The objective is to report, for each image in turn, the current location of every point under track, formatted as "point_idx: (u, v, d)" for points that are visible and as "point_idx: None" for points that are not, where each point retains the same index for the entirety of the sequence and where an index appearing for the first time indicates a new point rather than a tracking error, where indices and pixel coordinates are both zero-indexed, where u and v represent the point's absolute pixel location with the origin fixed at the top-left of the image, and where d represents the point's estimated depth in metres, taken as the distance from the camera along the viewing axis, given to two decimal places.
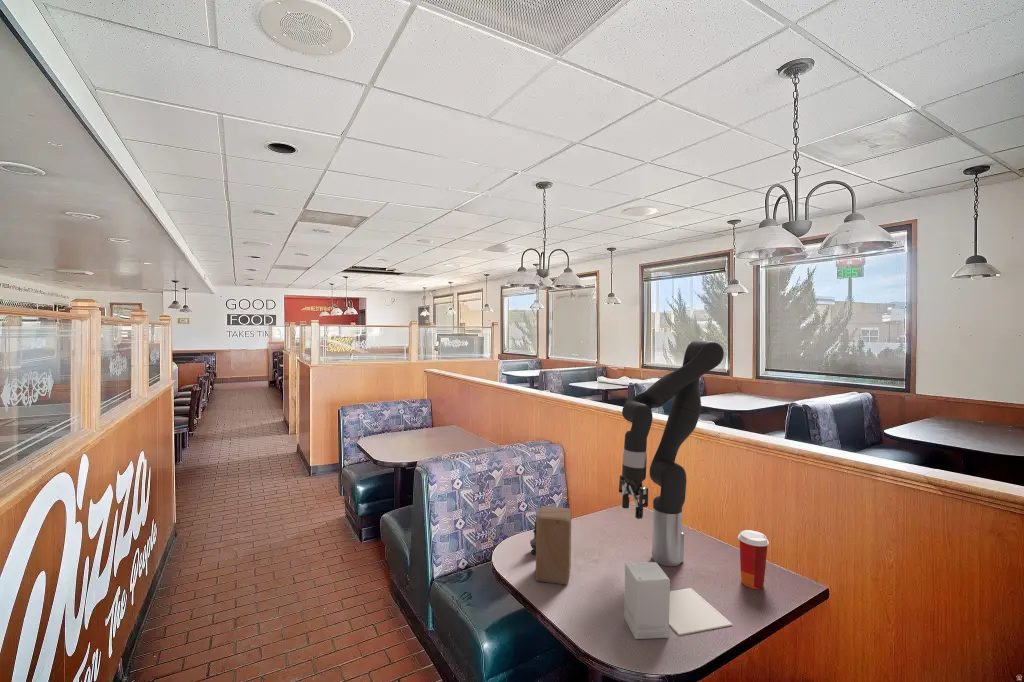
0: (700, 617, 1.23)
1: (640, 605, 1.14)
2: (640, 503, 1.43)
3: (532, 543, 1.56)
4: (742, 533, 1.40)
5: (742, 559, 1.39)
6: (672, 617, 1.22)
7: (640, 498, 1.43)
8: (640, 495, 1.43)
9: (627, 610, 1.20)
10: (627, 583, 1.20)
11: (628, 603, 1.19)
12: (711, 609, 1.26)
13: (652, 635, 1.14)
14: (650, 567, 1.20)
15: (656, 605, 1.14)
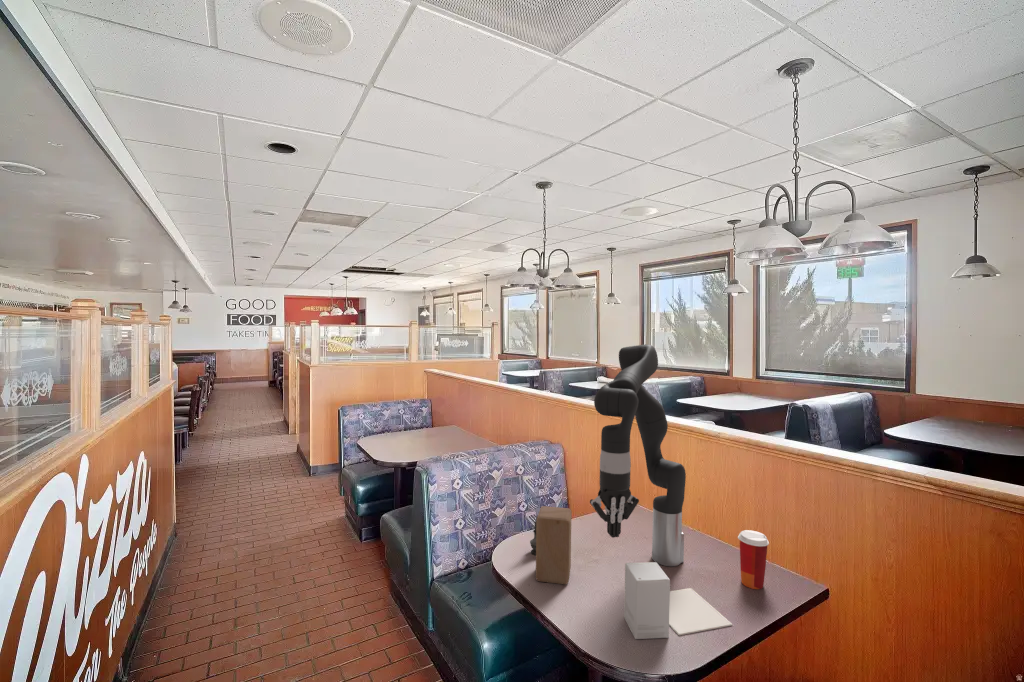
0: (700, 617, 1.23)
1: (640, 605, 1.14)
2: (628, 515, 1.15)
3: (532, 543, 1.56)
4: (742, 533, 1.40)
5: (742, 559, 1.39)
6: (672, 617, 1.22)
7: (631, 510, 1.15)
8: (633, 507, 1.15)
9: (627, 610, 1.20)
10: (627, 583, 1.20)
11: (628, 603, 1.19)
12: (711, 609, 1.26)
13: (652, 635, 1.14)
14: (650, 567, 1.20)
15: (656, 605, 1.14)
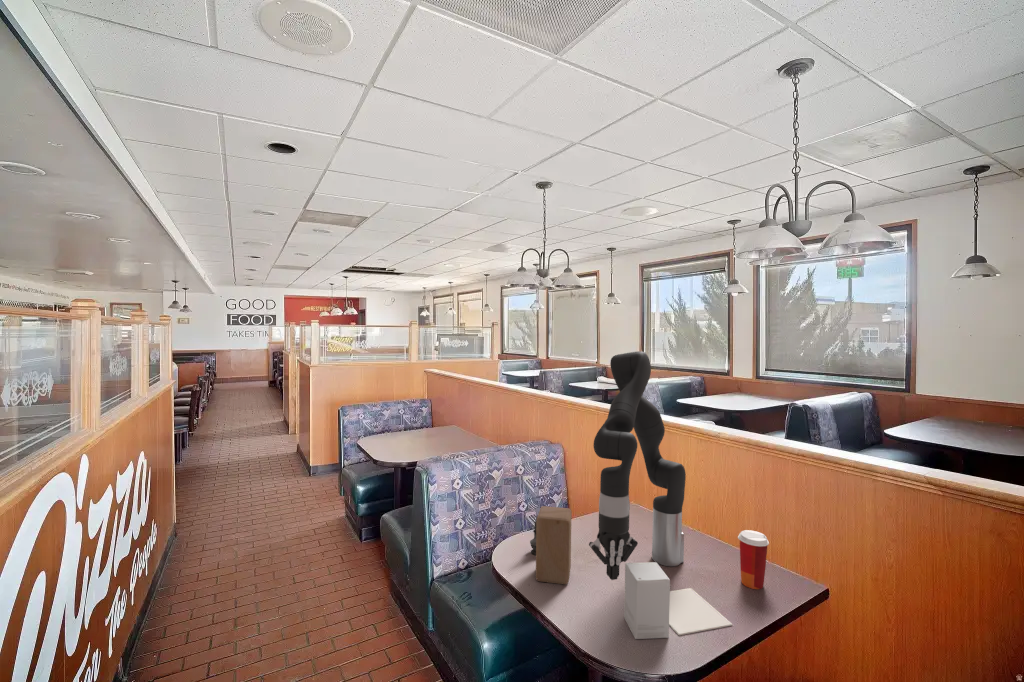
0: (700, 617, 1.23)
1: (640, 605, 1.14)
2: (626, 557, 1.16)
3: (532, 543, 1.56)
4: (742, 533, 1.40)
5: (742, 559, 1.39)
6: (672, 617, 1.22)
7: (630, 552, 1.16)
8: (632, 549, 1.16)
9: (627, 610, 1.20)
10: (627, 583, 1.20)
11: (628, 603, 1.19)
12: (711, 609, 1.26)
13: (652, 635, 1.14)
14: (650, 567, 1.20)
15: (656, 605, 1.14)
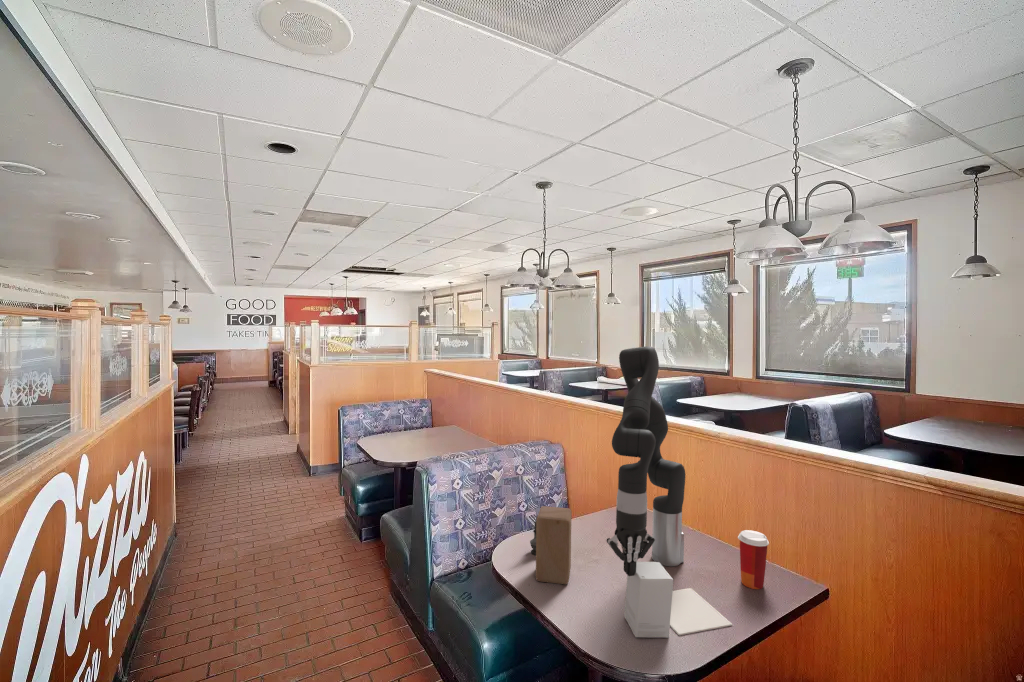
0: (700, 617, 1.23)
1: (643, 603, 1.14)
2: (643, 554, 1.17)
3: (532, 543, 1.56)
4: (742, 533, 1.40)
5: (742, 559, 1.39)
6: (672, 617, 1.22)
7: (647, 549, 1.17)
8: (649, 546, 1.17)
9: (628, 608, 1.20)
10: (630, 581, 1.20)
11: (630, 601, 1.19)
12: (711, 609, 1.26)
13: (653, 634, 1.14)
14: (653, 566, 1.20)
15: (658, 605, 1.14)
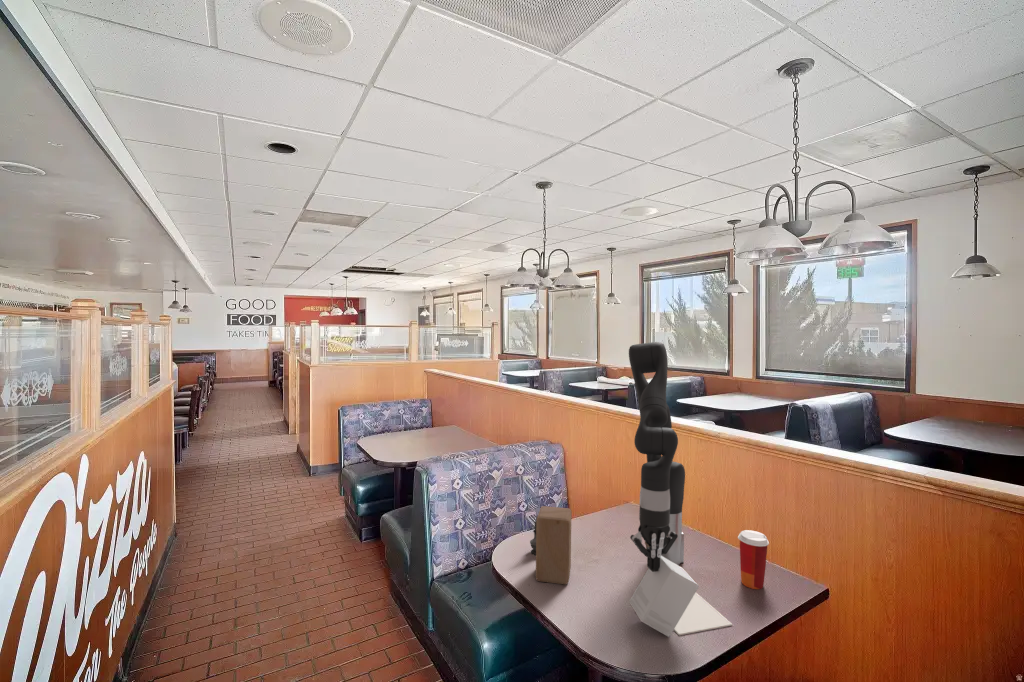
0: (700, 617, 1.23)
1: (663, 593, 1.14)
2: (667, 550, 1.19)
3: (532, 543, 1.56)
4: (742, 533, 1.40)
5: (742, 559, 1.39)
6: None
7: (670, 545, 1.19)
8: (672, 542, 1.19)
9: (639, 595, 1.20)
10: None
11: (645, 589, 1.19)
12: (711, 609, 1.26)
13: (657, 627, 1.14)
14: (680, 568, 1.21)
15: (675, 602, 1.14)
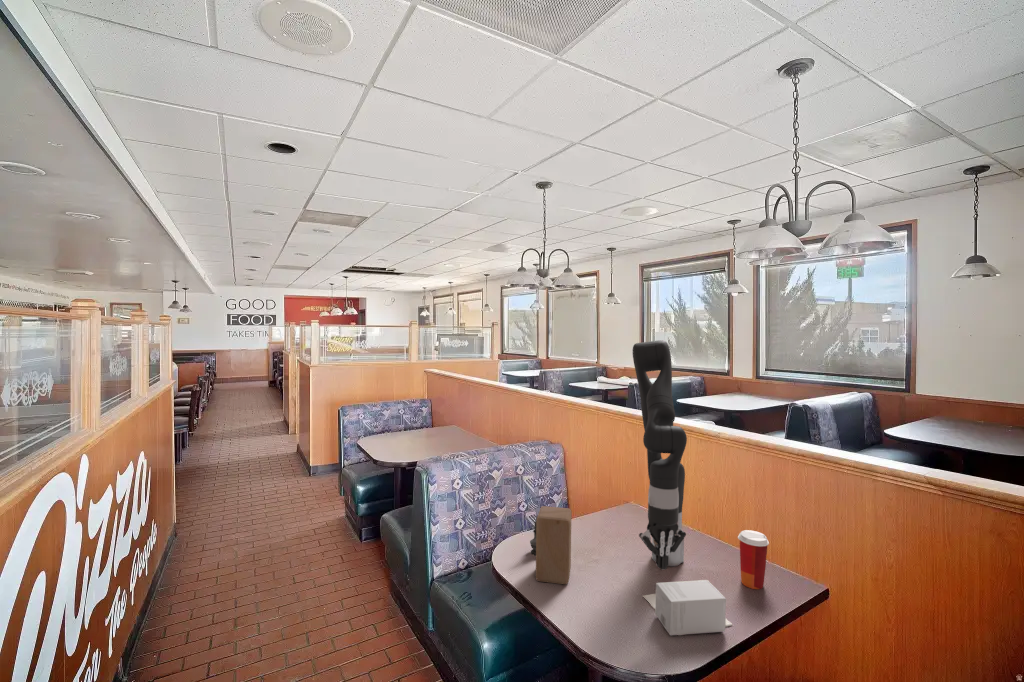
0: None
1: (703, 604, 1.15)
2: (675, 548, 1.19)
3: (532, 543, 1.56)
4: (742, 533, 1.40)
5: (742, 559, 1.39)
6: None
7: (678, 543, 1.19)
8: (680, 540, 1.19)
9: (673, 587, 1.21)
10: (699, 585, 1.22)
11: (684, 588, 1.20)
12: None
13: (673, 619, 1.15)
14: None
15: (702, 620, 1.15)
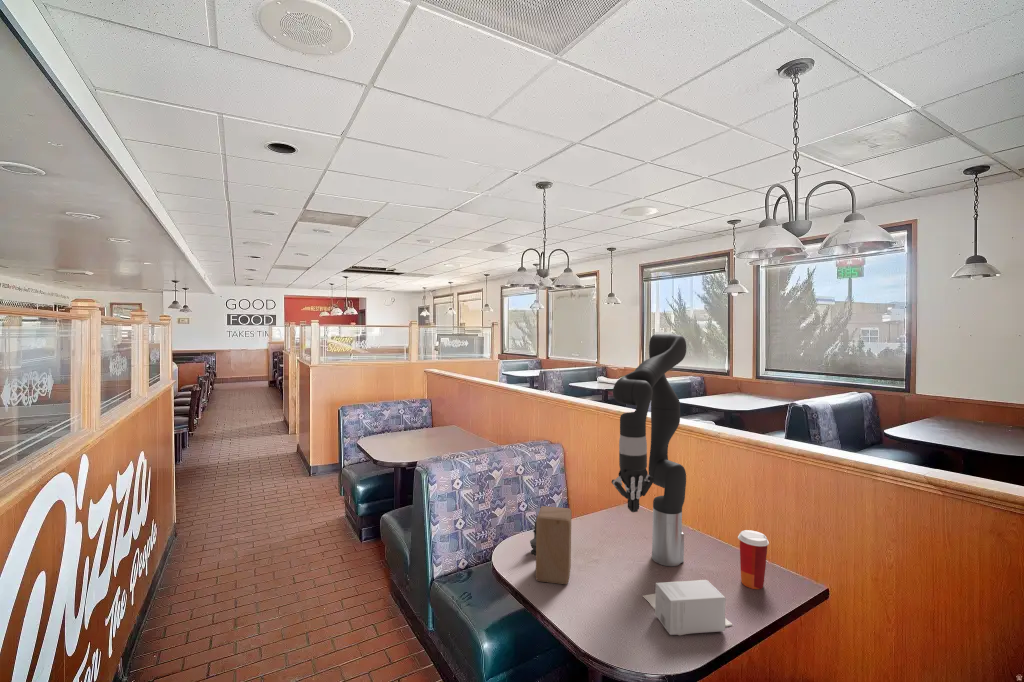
0: None
1: (703, 603, 1.16)
2: (645, 492, 1.29)
3: (532, 543, 1.56)
4: (742, 533, 1.40)
5: (742, 559, 1.39)
6: None
7: (648, 487, 1.29)
8: (649, 484, 1.29)
9: (672, 586, 1.21)
10: (698, 585, 1.22)
11: (683, 588, 1.20)
12: None
13: (673, 618, 1.15)
14: None
15: (702, 619, 1.16)
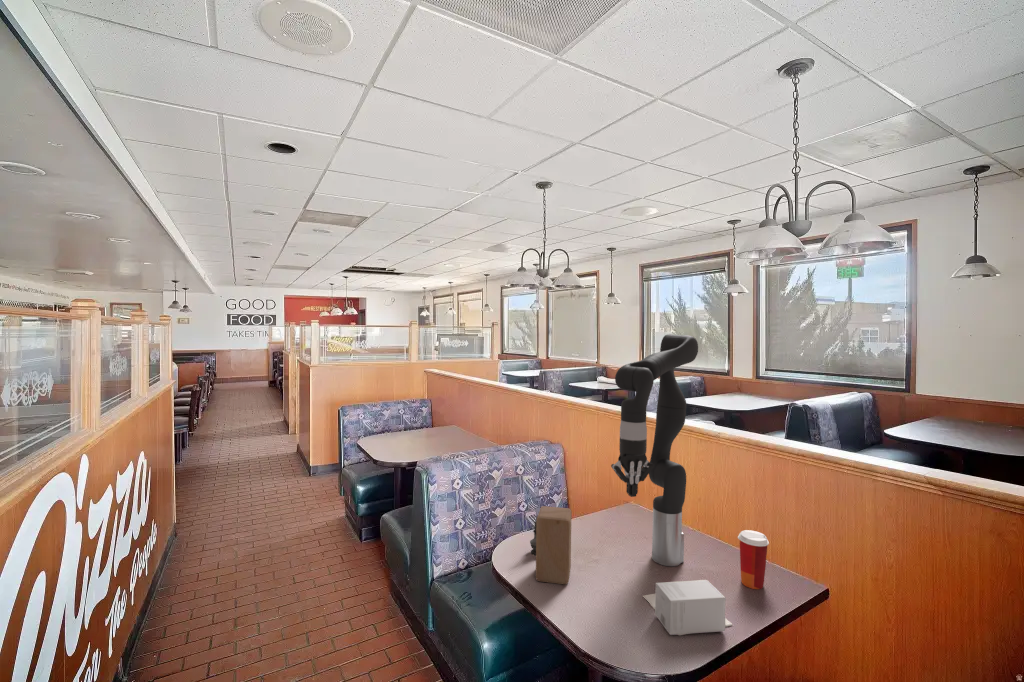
0: None
1: (703, 603, 1.16)
2: (644, 477, 1.32)
3: (532, 543, 1.56)
4: (742, 533, 1.40)
5: (742, 559, 1.39)
6: None
7: (647, 473, 1.32)
8: (648, 470, 1.32)
9: (672, 586, 1.21)
10: (698, 585, 1.22)
11: (683, 588, 1.20)
12: None
13: (673, 618, 1.15)
14: None
15: (702, 619, 1.16)
